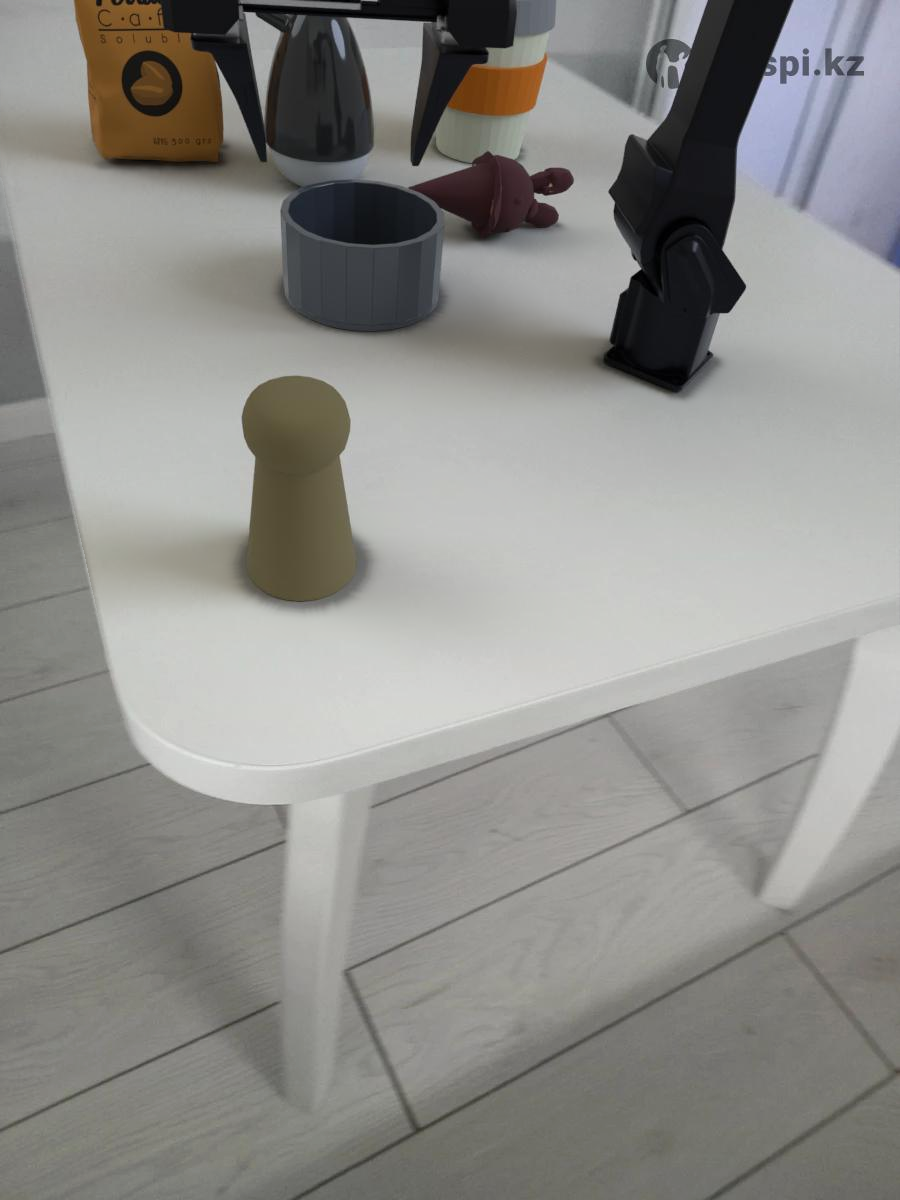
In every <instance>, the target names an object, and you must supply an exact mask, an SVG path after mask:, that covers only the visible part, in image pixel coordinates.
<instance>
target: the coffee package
mask: <svg viewBox="0 0 900 1200" xmlns="http://www.w3.org/2000/svg"><path fill="white" fill-rule="evenodd" d="M73 5H74V15H75V23H76V26H77V30H78V35H79V39H80V43H81V46H82V49H83V53H84V57H85V60H86V76H87V100H88V110H89V120H90V130H91V131H90V132H91V138H92V140H93V142H94V144H95V147H96V150H97V152H98V154H99V155H100V156H101V158H103V159H104V160H105V159H106V160H108V159H109V160H110V159H118V160H140V161H141V160H142V161H146V160H148V161H149V160H151V161H153V160H155V161H162V162H173V163H181V162H183V163H185V162H210V163H211V162H212V163H217V162H219V160H220V159H219V153H220V150H221V147H222V145H223V143H224V132H225V131H224V110H223V96H222V88H221V79H220V73H219V70H218V65H217V63H216V61H215V60H214V58H213V56H212V54H211V53H209V52H200V51H196V50H194V49H192V47H191V33H178V32H172V31H169V30H166V29H164V26H163V18H162V9H161V1H160V0H73Z"/></svg>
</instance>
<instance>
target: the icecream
mask: <svg viewBox="0 0 900 1200" xmlns="http://www.w3.org/2000/svg"><path fill="white" fill-rule="evenodd" d="M574 183H575V178H574V176H573V174H572V172H571V171H570V169H567V168H565V167H548V168H545V169H544V170H543V171H538V172H535V173H534V174H531V175H530V174H529V172H528V171H527V170H526V168H525V167H524V165H522V164H521V163H520V162H518V160H516V159H510V158H507V157H503V156H500V155H494V156H493V155H492V154H491V153H490V152H489V151H487V152H485V153H484V154H483V155H482V156H479V157H477V158H475V159H474V160H473V162H472V163H471V166H469V167H466V168H463V169H460V170H457V171H454V172H449V173H447V174H445V175H441V176H438V177H435V178H432V179H429V180H425V181H422V182H420V183H416V184H414V185H411V186H409V187H407V188H408V189H411V190H414V191H417V192H419V193H422V194H423V195H425V196H427V197H428V198H430V199H431V200H433V201H435V202H436V204H437V205H438V206H439V207H440V209H441V210H442V211H446V212H448V213H450V214H452V215H454V216H457V217H459V218H461V219H463V220H466V221H467V222H469V223H470V226H471V227H472V229H473V230H474V231H476V233H478V235H479V237H481V238H482V239H484V238H487V236H488V235H489V234H492V235H493V234H506V233H507V234H508V233H510V232H512V231H515V230H516V229H519V227H520V226H522V224H523V223H526V224H528V225H530V226H531V225H532V226H534V227H537V228H548V227H551V226H554V225H555V224H557V223H558V222H559V217H560V214H559V212H558V210H557V209H556V207H555V206H553V205H550V204H548V203H546V202H539V201H538V200H537V199H536V198H535V194H537V195H543V196H545V197H548V196H553V195H558V194H563V193H565V192H567V191H568V190H569V189H570V188H571V187H572V186H573V185H574Z"/></svg>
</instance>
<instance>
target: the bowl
mask: <svg viewBox="0 0 900 1200" xmlns="http://www.w3.org/2000/svg"><path fill="white" fill-rule="evenodd" d="M408 188H409V187H405V186H403V185H398V184H394V183H389V182H384V181H379V180H369V179H368V180H366V179H355V180H354V179H352V180H331V181H326V182H321V183H316V184H310V185H307V186H305V187H300V188H298V189H295V190H293V191H292V192H291V193H290V194H289V195H287V196H286V197H285V198H283V200H282V203H281V206H280V211H279V214H280V215H279V216H280V217H279V218H280V233H281V234H280V235H281V257H282V258H281V259H282V280H283V281H282V283H283V288H284V289H283V290H284V295H285V299H286V300H287V302H288V304H289V305H290V306H291V307H292V308H293V309H294V310H295V311H296V312H297V313H299V314H300V315H302V316H304V317H305V318H307V319H309V320H311V321H313V322H315V323H317V324H322V325H323V326H324V325H325V326H328V327H332V328H336V329H340V330H347V331H356V332H381V331H383V332H384V331H389V330H395V329H396V330H397V329H401V328H404V327H408V326H410V325H413V324H416V323H418V322H421V321H422V320H423V319H425V318H427V317H428V316H429V315H430V314H431V313H432V312H433V311H434V310H435V308H436V306H437V304H438V299H439V295H440V282H441V270H442V261H443V260H442V258H443V246H444V235H445V234H444V233H445V213H444V210H443V209H441V208H440V207H439V206H438V205H437V204H436V202H435V201H433V200H431V199H430V198H428V197H427V196H425V195H423V194H422V193H419V192H417V191H414V190H411V189H408Z"/></svg>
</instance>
